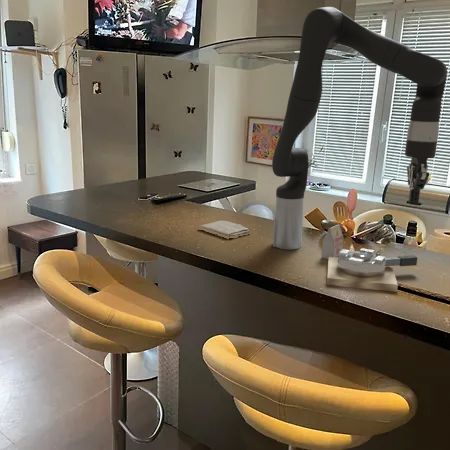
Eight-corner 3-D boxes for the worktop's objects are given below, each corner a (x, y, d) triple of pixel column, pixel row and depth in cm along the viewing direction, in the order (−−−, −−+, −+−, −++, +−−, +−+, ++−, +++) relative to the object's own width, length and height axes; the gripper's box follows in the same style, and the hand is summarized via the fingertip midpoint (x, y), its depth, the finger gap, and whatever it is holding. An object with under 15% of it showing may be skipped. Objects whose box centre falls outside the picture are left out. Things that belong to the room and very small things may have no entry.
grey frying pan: (350, 278, 122) (351, 263, 121) (329, 262, 134) (330, 248, 133) (428, 273, 127) (430, 258, 126) (401, 257, 139) (403, 244, 138)
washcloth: (229, 241, 163) (229, 233, 162) (197, 231, 175) (197, 223, 174) (252, 235, 171) (252, 227, 170) (219, 225, 183) (219, 218, 182)
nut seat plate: (326, 284, 124) (327, 276, 123) (328, 263, 141) (328, 255, 140) (396, 291, 120) (397, 283, 119) (389, 268, 137) (390, 261, 136)
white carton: (321, 257, 146) (323, 227, 143) (331, 252, 151) (334, 223, 148) (332, 260, 143) (334, 229, 141) (342, 255, 148) (344, 225, 146)
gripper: (445, 141, 114) (435, 209, 118) (429, 137, 126) (420, 198, 131) (413, 140, 115) (405, 208, 119) (401, 136, 127) (393, 197, 132)
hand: (413, 202), depth 125 cm, fingers closed
